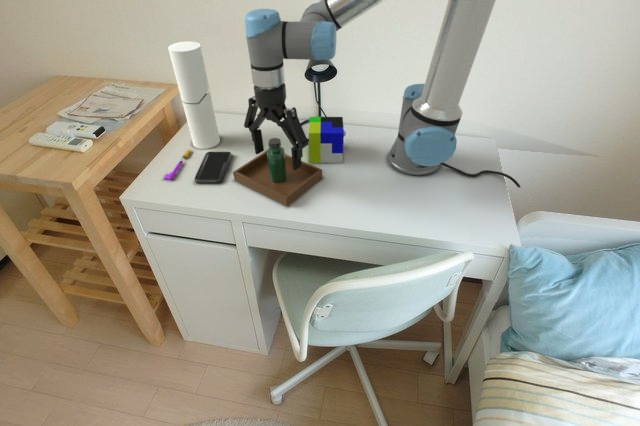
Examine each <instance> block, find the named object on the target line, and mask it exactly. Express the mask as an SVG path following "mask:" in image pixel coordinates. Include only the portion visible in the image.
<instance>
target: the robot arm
mask: <svg viewBox="0 0 640 426" xmlns="http://www.w3.org/2000/svg"><path fill="white" fill-rule="evenodd" d="M384 1H385V0H319V1H318V2H315V3H312V4H311V5H309V6H308V7H307V8H305V10H304V12H303V13H302V16H301V19H300V20H299V21H286V20H282V19H281V16H280V13H279V11H278V10H276V9H272V8H271V9H270V8H256V9H253V10H251V11H248V12H247V13H246V14H245V16H244V26H245V39H246V45H247V50H248V55H249V62H250V72H251V79H252V85H253V93H254V95H253V96H251V97H249V98H248V99H247V100H248V108H247V111H246V115H245V120H244V123H243V127H244V128H245V129H248V131H249V132H250V135H251V140H252V142H253V146H254V154H255V155H257V156H259V155H260V154H262V153H263V152H265V148H264V140H263V133H262V129H260V128H261V126H262V124H263V123H264V122H265V120H266V121H271V122H272V123H275V124H276V125H277V126H278V127H279V128H281V130H282V132H283V133H284V135H285V136H286V138H287V139H288V141H289V142H290V144H291V145H292V147H290V150H291V151H290V152H291V157H292V164H293V170H297V169H298V168H299V167H301V166H302V164H301V161H302V158H303V155H304V154H303V150H304V149H305V148H307V146H309V139H308V137H307V135H306V133H305V131H304V128H303V126H302V124H301V122H300V118H299V117H298V112H297V108H296V107H295V106H294V107H291V108H289V107H287V105H286V99H287V87H286V83H285V82H286V78H285V66H284V60H305V61H306V60H308V61H309V60H311V61H324V60H333V59H334V58H335V56H336V53H337V51H336V50H337V32H338V31H339V30H341V29H343V27H345V26H347V25H348V24H350V23H351V22H353V21H355V20H356V19H357V18H359V17H361V16H362V15H364V14H366V13H367V12H369V11H370V10H372V9H374V8H375V7H376V6H378V5H381V3H383V2H384ZM496 2H497V0H447V4H446V8H445V11H444V15H443V18H442V21H441V25H440V29H439V32H438V35H437V39H436V43H435V45H434V50H433V53H432V57H431V61H430V64H429V66H428V67H429V68H428V70H427V74H426V77H425V81H424V83H414V84H411V85H408V86H407V87H405V89H404V91H403V96H402V102H401V103H402V104H401V111H400V117H399V125H398V130H397V136H396V138H395V140H394V142H393V144H392V146H391V147H390V149H389V153H388V157H387V160H388V163H389V165H390V166H391V168H393V169H394V170H395V171H397V172H399V173H402V174H405V175H408V176H409V175H410V176H418V177H419V176H427V175H431V174H433V173H435V172H437V170H439V168H440V166H444V167H447V168H449V169H450V170H453V171H455V172H457V173H459V174H462V175H463V176H466V177H473V178H474V177H478V176H481V175H484V174H494V175H499V176H502V177H505V178H507V179H509V180H510V181H512V183H514V184H515V186H516V187H517V188H518V189H519V188H521V185H520V183H519V182H518V181H517V180H516V179H515V178H513V176H510V174H507V173H504V172H500V171H496V170H488V169H486V170H481V171H480V172H477V173H467V172H465V171H463V170H460V169H459V168H457V167H455V166H452V165H450V164H447V163H445V162H447V161H448V160H450V159H451V158H452V157H453V155H454V154H455V152H456V149H457V143H458V141H457V137H456V132H457V130H458V127H459V124H460V122H461V119H462V117H463V110H462V107H460V105H459V104H460V101H461V99H462V96H463V93H464V91H465V88H466V85H467V82H468V79H469V76H470V74H471V71H472V69H473V65H474V63H475V59H476V57H477V54H478V51H479V48H480V45H481V44H482V40H483V37H484V34H485V32H486V30H487V26H488V23H489V21H490V18H491V15H492V12H493V9H494V7H495V4H496ZM258 110H260V111H259V112H258Z"/></svg>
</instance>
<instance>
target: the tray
mask: <svg viewBox="0 0 640 426" xmlns="http://www.w3.org/2000/svg"><path fill="white" fill-rule="evenodd" d="M285 164H286V176H287V178H286V180H285V181H284V182H281V183H274V182H272V181H271V180H270V177H269V169H268V160H267V150H264V151H263V152H261V153H259V154H258V155H257V156H255V157H254V158H253V159H251V160H250V161H248V162H246V163H244V164H243V165H242V166H240V167H239V168H237V169H236V170H234V171H232V174H233V179H234V182H236V183H238V184H240V185H242V186H244V187H246V188H248V189H250V190H252V191H254V192H256V193H258V194H260V195H262V196H264V197H266V198H268V199H270V200H272V201H275V202H276V203H277V204H279V205H280V204H281V205H282V206H284V207H287V208H288V207H289V206H291V205H292V204H293V203H294V202H295V201H296V200H298V199H299V198H300V197H302V196H303V195H304V194H305V193H307V192H308V191H309V190H311V189H312V188H313V187H314V186H316V185H317V183H319V182H320V181H322V180H323V169H322V168H320V167H317V166H315V165H312V164H311V163H308V162H305V161H303V160H301V164H302V166H301V167H299V168H298V169H297V170H293V164H292V155H291V156H290V155H288V154H286V153H285Z"/></svg>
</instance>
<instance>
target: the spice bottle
mask: <svg viewBox="0 0 640 426" xmlns="http://www.w3.org/2000/svg"><path fill="white" fill-rule="evenodd" d="M266 151H267V160H268V169H269V177H270V180H271V181H272V182H274V183H281V182H284V181H285V180H286V178H287V176H286V164H285V154H286V153H285V148H284V147H282V141H281V139H280V138H278V137H272V138H270V139H268V148H267V149H266Z"/></svg>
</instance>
